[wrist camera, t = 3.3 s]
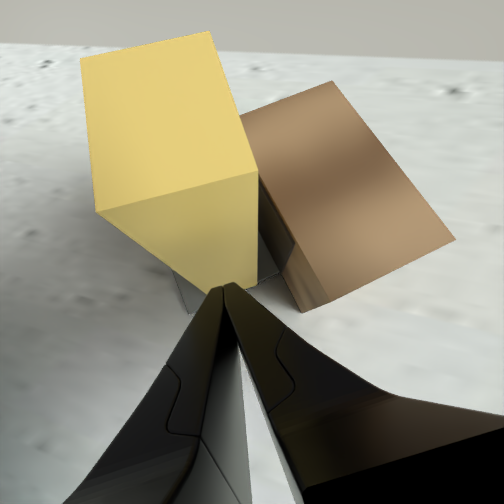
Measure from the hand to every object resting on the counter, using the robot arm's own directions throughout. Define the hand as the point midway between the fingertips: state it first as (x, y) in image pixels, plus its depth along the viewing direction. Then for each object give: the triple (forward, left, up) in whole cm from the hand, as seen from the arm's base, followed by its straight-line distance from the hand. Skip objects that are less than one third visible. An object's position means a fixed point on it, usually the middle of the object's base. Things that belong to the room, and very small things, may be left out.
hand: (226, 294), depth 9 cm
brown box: (+3, -6, -8) cm, 11 cm away
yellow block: (+3, 0, -7) cm, 8 cm away
